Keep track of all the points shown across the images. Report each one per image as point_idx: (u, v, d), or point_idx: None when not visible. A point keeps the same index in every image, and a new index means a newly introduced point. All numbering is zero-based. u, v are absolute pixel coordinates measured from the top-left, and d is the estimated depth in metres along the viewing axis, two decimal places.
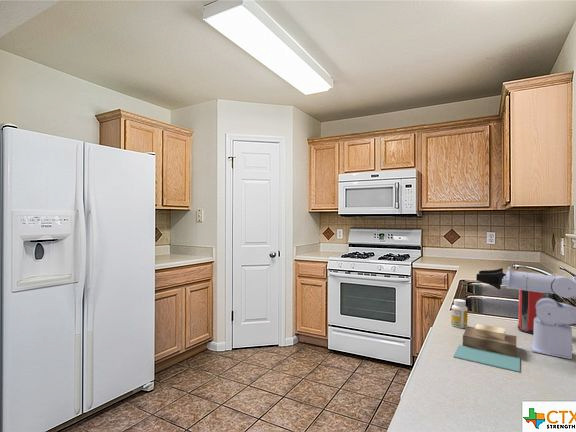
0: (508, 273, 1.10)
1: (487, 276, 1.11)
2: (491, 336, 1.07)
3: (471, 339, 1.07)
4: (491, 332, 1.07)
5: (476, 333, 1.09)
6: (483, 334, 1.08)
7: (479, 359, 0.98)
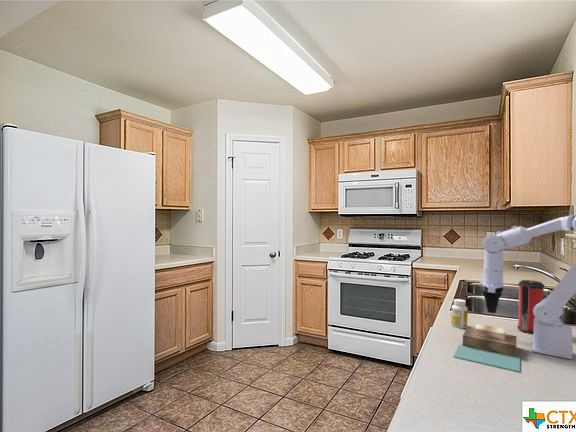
0: (484, 284, 1.16)
1: (489, 303, 1.14)
2: (491, 336, 1.07)
3: (471, 339, 1.07)
4: (491, 332, 1.07)
5: (476, 333, 1.09)
6: (483, 334, 1.08)
7: (479, 359, 0.98)
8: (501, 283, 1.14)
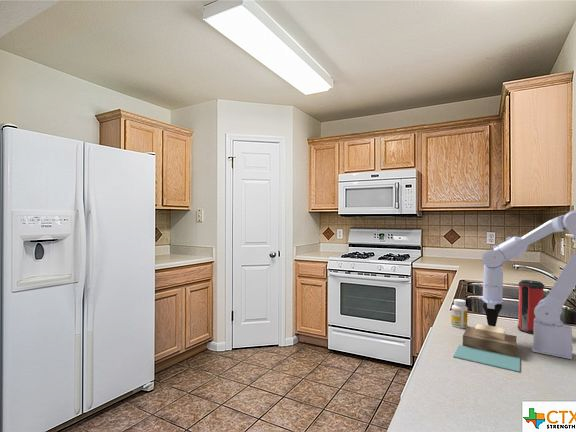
0: (484, 300, 1.15)
1: (489, 316, 1.16)
2: (491, 336, 1.07)
3: (471, 339, 1.07)
4: (491, 332, 1.07)
5: (476, 333, 1.09)
6: (483, 334, 1.08)
7: (479, 359, 0.98)
8: (500, 299, 1.13)
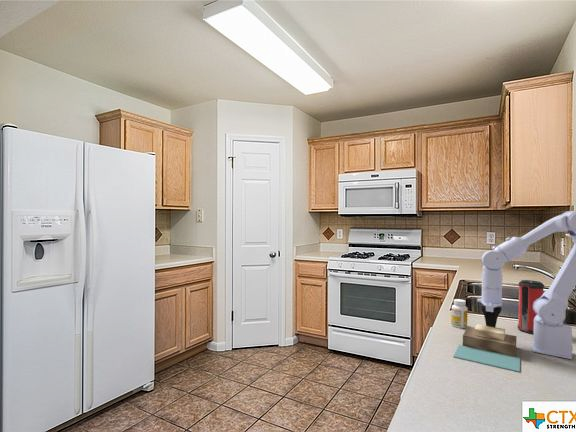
0: (482, 302, 1.11)
1: (488, 319, 1.12)
2: (491, 336, 1.06)
3: (471, 339, 1.07)
4: (490, 333, 1.06)
5: (476, 333, 1.08)
6: (483, 334, 1.07)
7: (479, 359, 0.98)
8: (500, 301, 1.10)
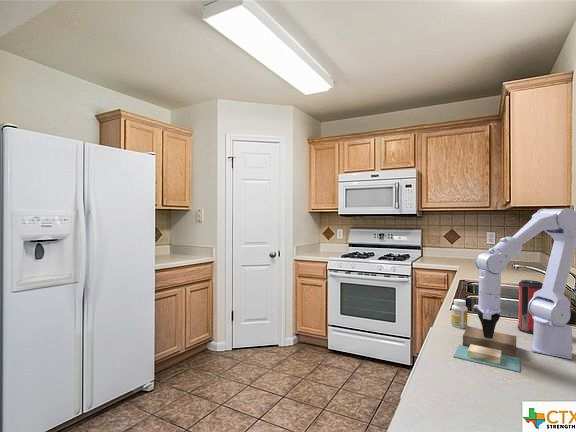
0: (479, 309, 1.03)
1: (485, 327, 1.04)
2: None
3: (471, 339, 1.07)
4: None
5: None
6: None
7: None
8: (498, 308, 1.02)
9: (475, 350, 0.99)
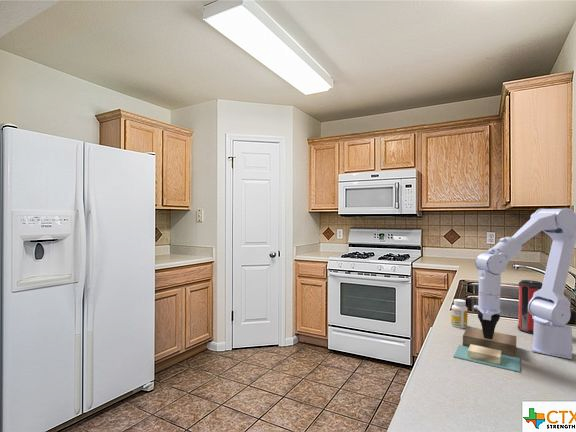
0: (479, 309, 1.03)
1: (485, 328, 1.03)
2: None
3: (471, 339, 1.07)
4: None
5: None
6: None
7: None
8: (498, 308, 1.01)
9: (475, 350, 0.99)
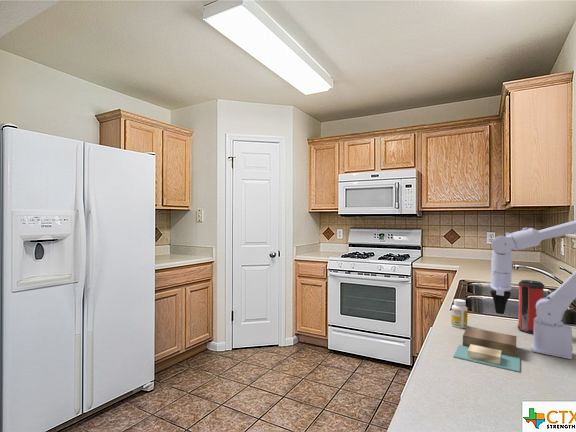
0: (492, 287, 1.12)
1: (497, 303, 1.13)
2: None
3: (471, 339, 1.07)
4: None
5: None
6: None
7: None
8: (509, 285, 1.11)
9: (475, 350, 0.99)
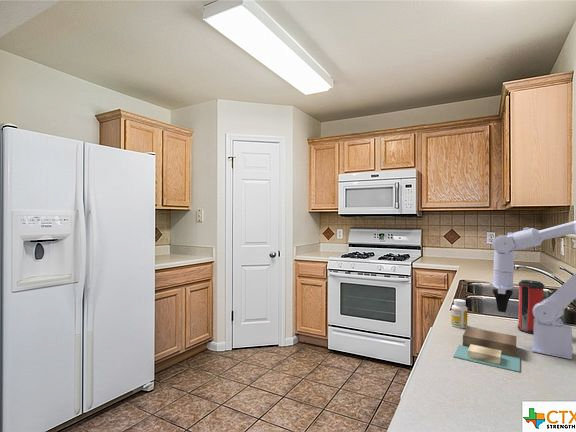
0: (494, 285, 1.14)
1: (499, 302, 1.15)
2: None
3: (471, 339, 1.07)
4: None
5: None
6: None
7: None
8: (511, 284, 1.13)
9: (475, 350, 0.99)
